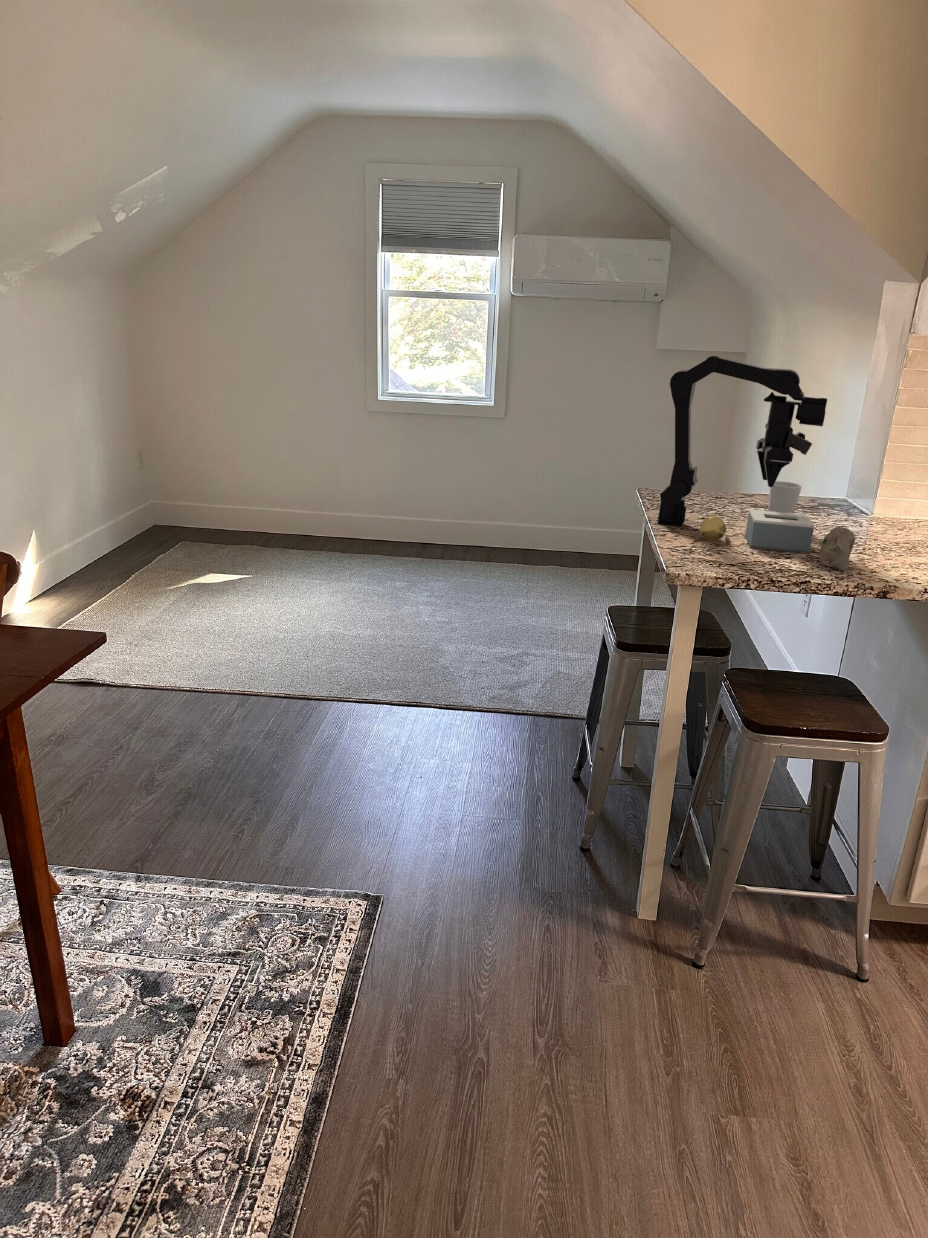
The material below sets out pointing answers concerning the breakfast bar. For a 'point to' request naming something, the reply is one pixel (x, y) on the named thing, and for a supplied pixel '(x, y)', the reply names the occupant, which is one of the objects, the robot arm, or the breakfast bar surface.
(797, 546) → the box
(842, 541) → the rock
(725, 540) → the coin stand
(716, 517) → the coin
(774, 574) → the breakfast bar surface
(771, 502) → the cup
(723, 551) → the breakfast bar surface
